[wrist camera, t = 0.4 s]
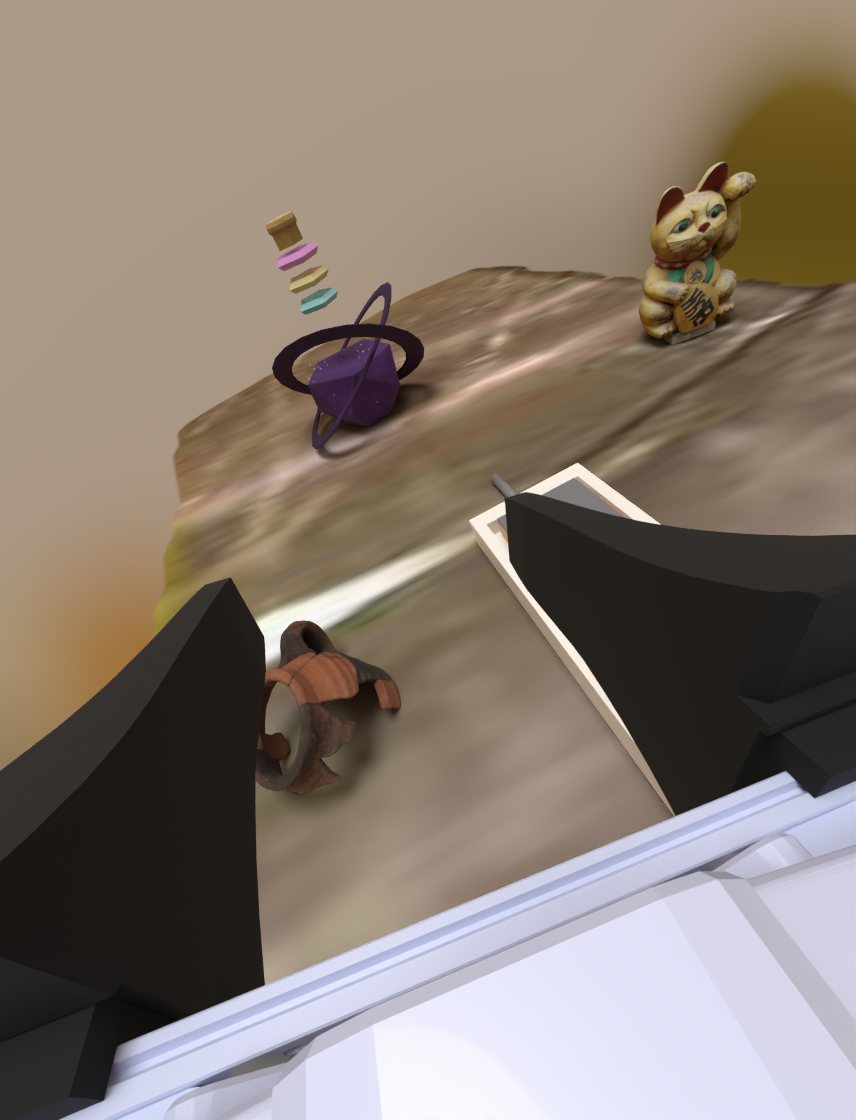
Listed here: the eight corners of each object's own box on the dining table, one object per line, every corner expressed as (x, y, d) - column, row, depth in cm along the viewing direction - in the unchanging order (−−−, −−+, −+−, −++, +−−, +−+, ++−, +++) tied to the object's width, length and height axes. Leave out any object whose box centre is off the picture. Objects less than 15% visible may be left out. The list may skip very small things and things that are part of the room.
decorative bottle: (445, 363, 67) (383, 161, 49) (436, 435, 53) (345, 190, 35) (326, 401, 73) (234, 235, 56) (291, 473, 60) (154, 284, 42)
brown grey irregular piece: (430, 738, 28) (337, 762, 22) (347, 798, 32) (246, 834, 25) (366, 600, 34) (280, 587, 28) (303, 663, 38) (213, 664, 31)
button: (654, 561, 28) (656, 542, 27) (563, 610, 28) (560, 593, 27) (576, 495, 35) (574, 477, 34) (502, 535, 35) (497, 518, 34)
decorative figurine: (658, 357, 47) (669, 194, 37) (622, 336, 53) (622, 190, 43) (743, 322, 46) (778, 143, 36) (696, 304, 52) (715, 146, 42)
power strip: (1432, 1181, 11) (1623, 1239, 9) (1079, 1378, 11) (1188, 1485, 9) (540, 456, 43) (535, 431, 41) (449, 504, 43) (440, 482, 41)
